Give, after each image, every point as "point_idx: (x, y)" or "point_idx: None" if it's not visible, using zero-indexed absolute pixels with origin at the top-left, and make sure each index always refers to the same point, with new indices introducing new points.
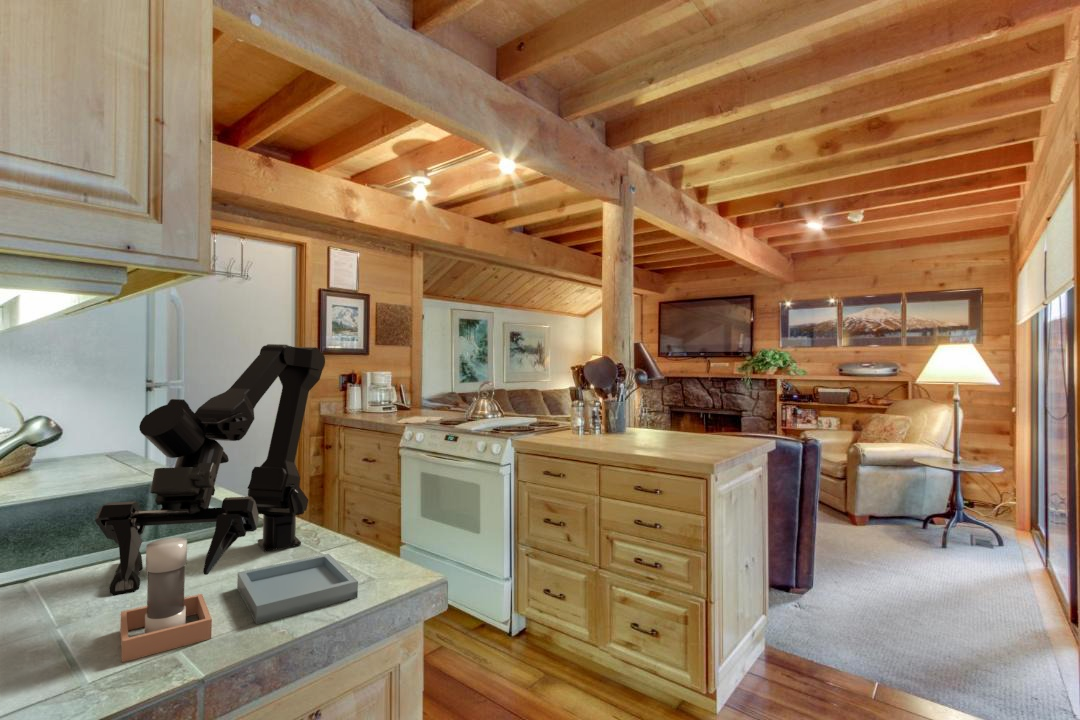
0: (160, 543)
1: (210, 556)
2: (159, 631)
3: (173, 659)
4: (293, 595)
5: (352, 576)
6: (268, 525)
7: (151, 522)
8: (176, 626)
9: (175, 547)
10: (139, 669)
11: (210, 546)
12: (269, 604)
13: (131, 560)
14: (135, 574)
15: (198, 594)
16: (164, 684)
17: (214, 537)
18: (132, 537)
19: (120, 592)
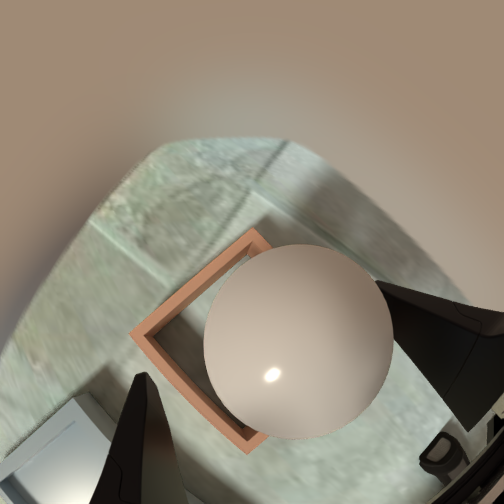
0: (339, 330)
1: (130, 413)
2: (206, 270)
3: (163, 258)
4: (36, 440)
5: (4, 500)
6: None
7: (495, 438)
8: (185, 295)
9: (217, 300)
10: (200, 225)
11: (140, 447)
12: (59, 410)
13: (413, 333)
14: (441, 471)
15: (252, 449)
16: (134, 194)
17: (132, 485)
18: (481, 352)
19: (435, 441)
